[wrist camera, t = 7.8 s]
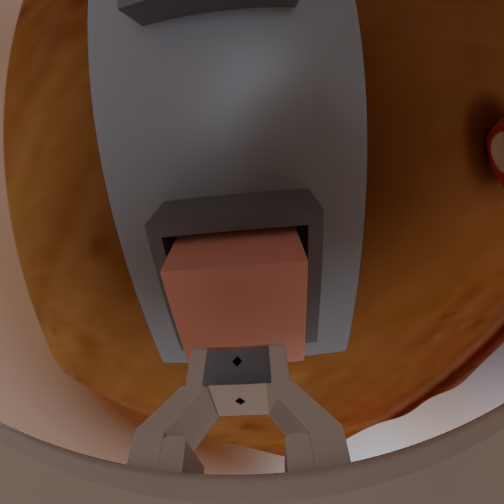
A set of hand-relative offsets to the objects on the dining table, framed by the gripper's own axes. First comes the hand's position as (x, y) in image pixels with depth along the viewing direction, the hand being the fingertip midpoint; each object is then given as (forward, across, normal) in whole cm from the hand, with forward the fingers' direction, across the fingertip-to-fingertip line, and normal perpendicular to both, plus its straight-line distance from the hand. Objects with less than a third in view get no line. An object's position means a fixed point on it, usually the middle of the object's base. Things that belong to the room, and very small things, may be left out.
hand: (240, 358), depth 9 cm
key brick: (+5, 0, 0) cm, 5 cm away
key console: (+10, 0, -8) cm, 13 cm away
